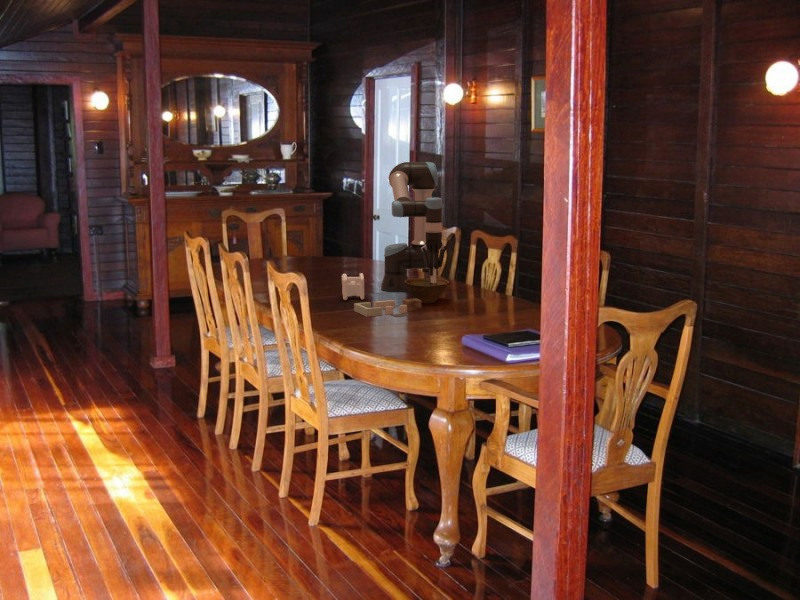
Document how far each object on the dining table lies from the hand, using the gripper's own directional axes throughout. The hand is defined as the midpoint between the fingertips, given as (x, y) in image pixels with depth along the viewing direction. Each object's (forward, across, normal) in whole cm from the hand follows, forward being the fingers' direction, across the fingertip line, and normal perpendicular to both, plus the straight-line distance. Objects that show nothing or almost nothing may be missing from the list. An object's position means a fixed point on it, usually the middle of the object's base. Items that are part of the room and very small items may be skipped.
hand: (433, 282), depth 426 cm
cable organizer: (+12, +25, -36) cm, 46 cm away
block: (+12, +11, 0) cm, 16 cm away
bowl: (+12, -4, -14) cm, 19 cm away
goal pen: (+12, +33, 0) cm, 35 cm away
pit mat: (+12, +22, +10) cm, 27 cm away
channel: (+12, +22, 0) cm, 25 cm away
